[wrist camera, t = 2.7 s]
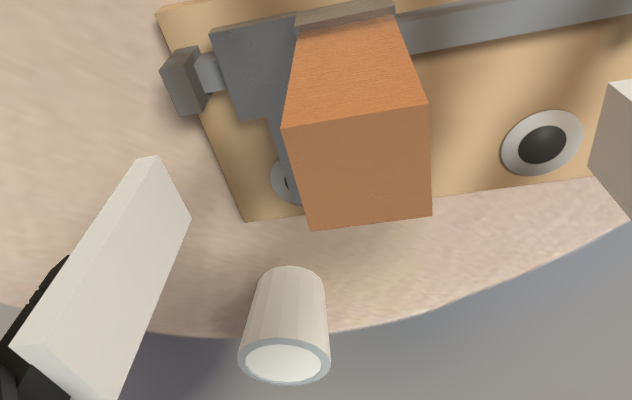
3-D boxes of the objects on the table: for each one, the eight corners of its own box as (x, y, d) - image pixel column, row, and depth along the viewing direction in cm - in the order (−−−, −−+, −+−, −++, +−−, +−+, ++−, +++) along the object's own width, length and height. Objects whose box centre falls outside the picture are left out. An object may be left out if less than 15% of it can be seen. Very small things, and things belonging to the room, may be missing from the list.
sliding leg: (337, 183, 25) (341, 342, 17) (298, 3, 19) (273, 119, 10) (402, 174, 25) (438, 333, 17) (386, -16, 18) (432, 91, 10)
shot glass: (234, 288, 35) (217, 365, 30) (284, 247, 32) (274, 327, 26) (296, 320, 38) (290, 396, 33) (348, 286, 35) (350, 364, 29)
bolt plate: (247, 211, 29) (237, 251, 26) (162, 6, 21) (133, 32, 18) (610, 160, 26) (647, 200, 23) (694, -114, 17) (771, -107, 14)
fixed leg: (275, 192, 26) (272, 211, 25) (217, 20, 19) (207, 34, 18) (337, 183, 25) (338, 203, 24) (298, 3, 19) (296, 15, 17)
